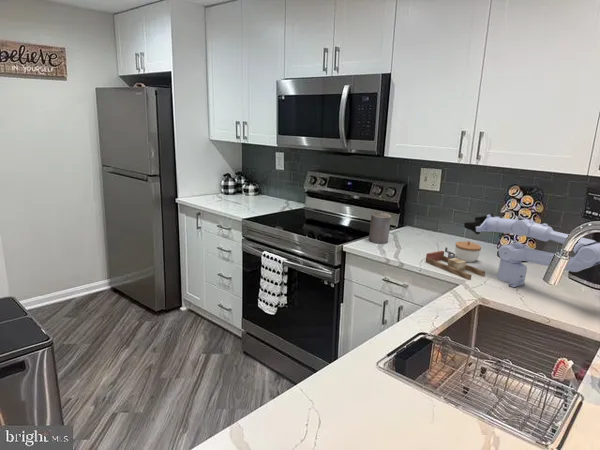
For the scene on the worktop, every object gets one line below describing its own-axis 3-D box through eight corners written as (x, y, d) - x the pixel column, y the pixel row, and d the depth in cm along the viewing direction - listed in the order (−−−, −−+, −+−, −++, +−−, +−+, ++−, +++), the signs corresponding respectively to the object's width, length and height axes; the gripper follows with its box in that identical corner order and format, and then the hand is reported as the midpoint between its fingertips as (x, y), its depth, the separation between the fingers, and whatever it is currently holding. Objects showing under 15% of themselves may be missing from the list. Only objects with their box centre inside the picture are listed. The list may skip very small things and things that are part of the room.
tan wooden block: (465, 270, 178) (466, 261, 177) (457, 272, 176) (458, 263, 175) (454, 266, 183) (456, 257, 182) (446, 268, 180) (448, 259, 179)
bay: (484, 278, 174) (486, 266, 173) (468, 282, 169) (470, 270, 167) (440, 261, 192) (442, 250, 190) (425, 264, 186) (426, 253, 185)
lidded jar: (451, 262, 191) (454, 242, 189) (455, 255, 201) (458, 236, 198) (477, 267, 187) (480, 246, 184) (479, 260, 196) (483, 240, 193)
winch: (455, 263, 191) (457, 250, 189) (451, 264, 189) (453, 251, 187) (446, 259, 195) (447, 247, 193) (441, 260, 193) (443, 247, 192)
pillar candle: (367, 237, 222) (370, 209, 218) (386, 238, 222) (389, 210, 218) (369, 243, 213) (372, 214, 209) (389, 244, 213) (392, 215, 209)
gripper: (509, 210, 175) (479, 208, 186) (489, 221, 167) (458, 218, 178) (511, 226, 177) (480, 224, 188) (491, 238, 169) (460, 234, 180)
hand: (470, 222), depth 183 cm, fingers open, 7 cm apart
